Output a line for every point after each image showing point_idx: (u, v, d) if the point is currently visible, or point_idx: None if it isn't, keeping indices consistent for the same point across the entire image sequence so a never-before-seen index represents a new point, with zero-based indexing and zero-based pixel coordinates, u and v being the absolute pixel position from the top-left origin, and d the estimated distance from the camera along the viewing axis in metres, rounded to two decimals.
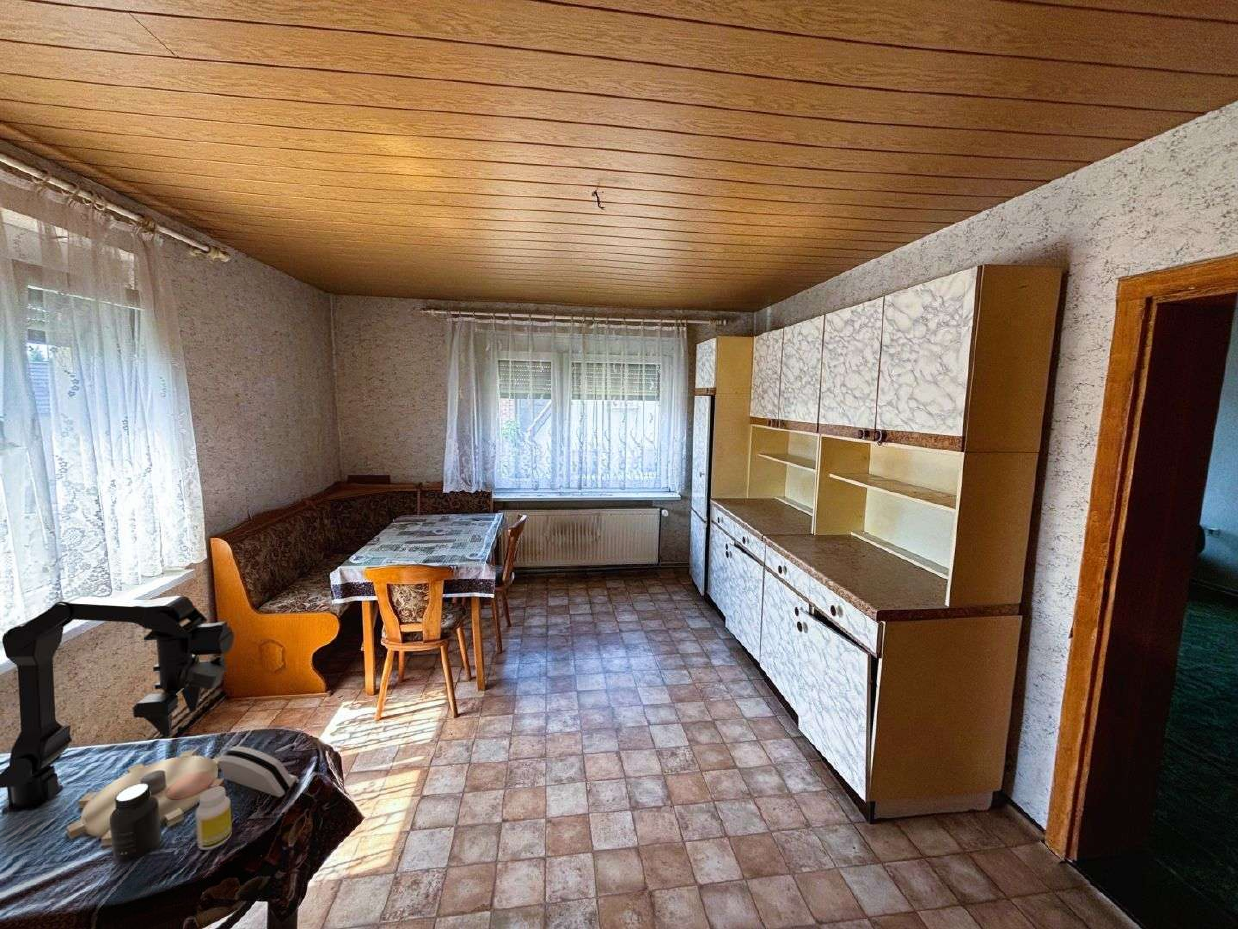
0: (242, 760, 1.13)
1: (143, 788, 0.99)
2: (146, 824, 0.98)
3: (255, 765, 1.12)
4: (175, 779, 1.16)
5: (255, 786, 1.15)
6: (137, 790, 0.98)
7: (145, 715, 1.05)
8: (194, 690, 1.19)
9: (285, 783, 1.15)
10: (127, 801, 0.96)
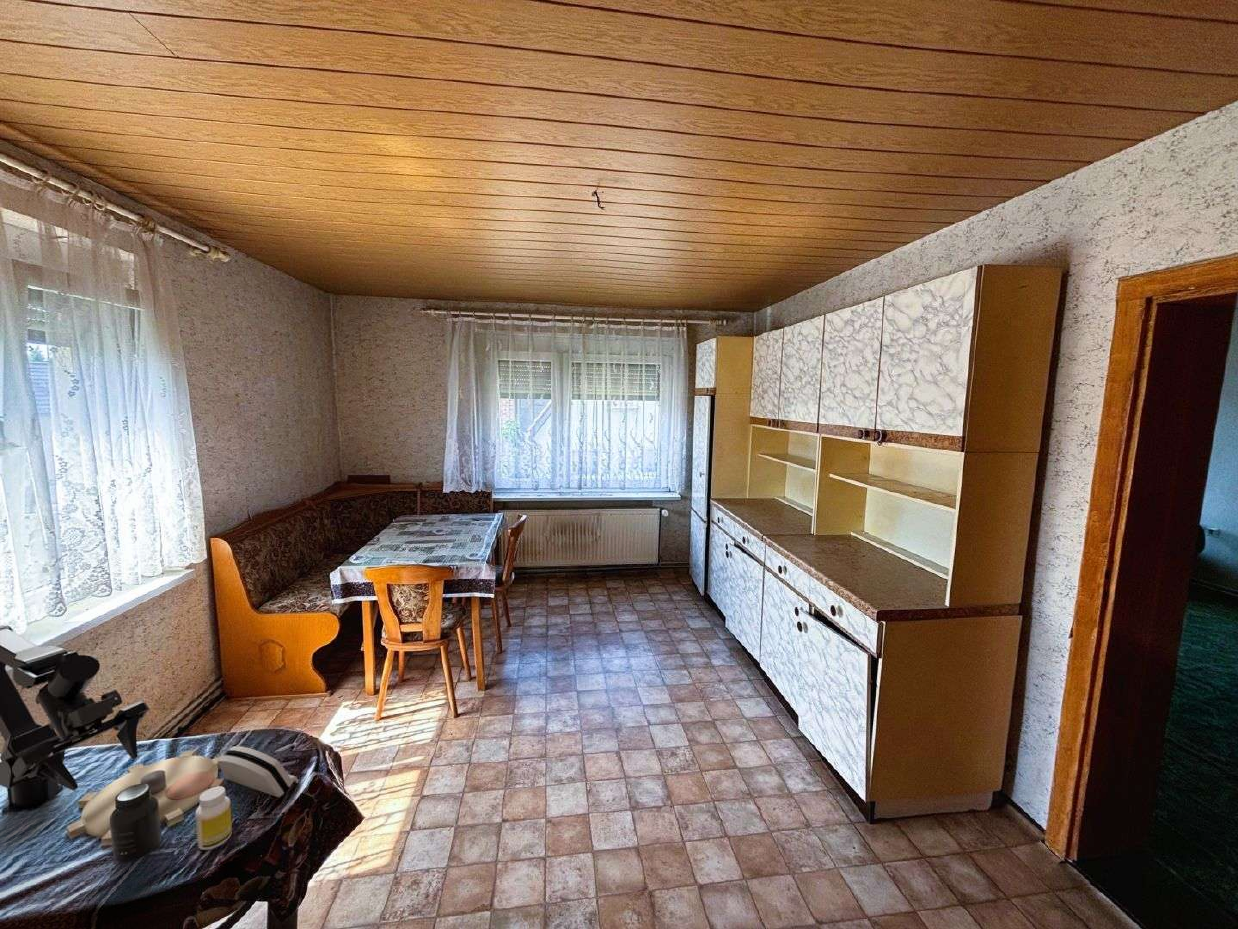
0: (241, 760, 1.13)
1: (143, 788, 0.99)
2: (146, 824, 0.98)
3: (254, 765, 1.12)
4: (175, 779, 1.16)
5: (254, 786, 1.15)
6: (137, 790, 0.98)
7: (19, 772, 0.93)
8: (126, 736, 1.06)
9: (284, 783, 1.15)
10: (127, 801, 0.96)
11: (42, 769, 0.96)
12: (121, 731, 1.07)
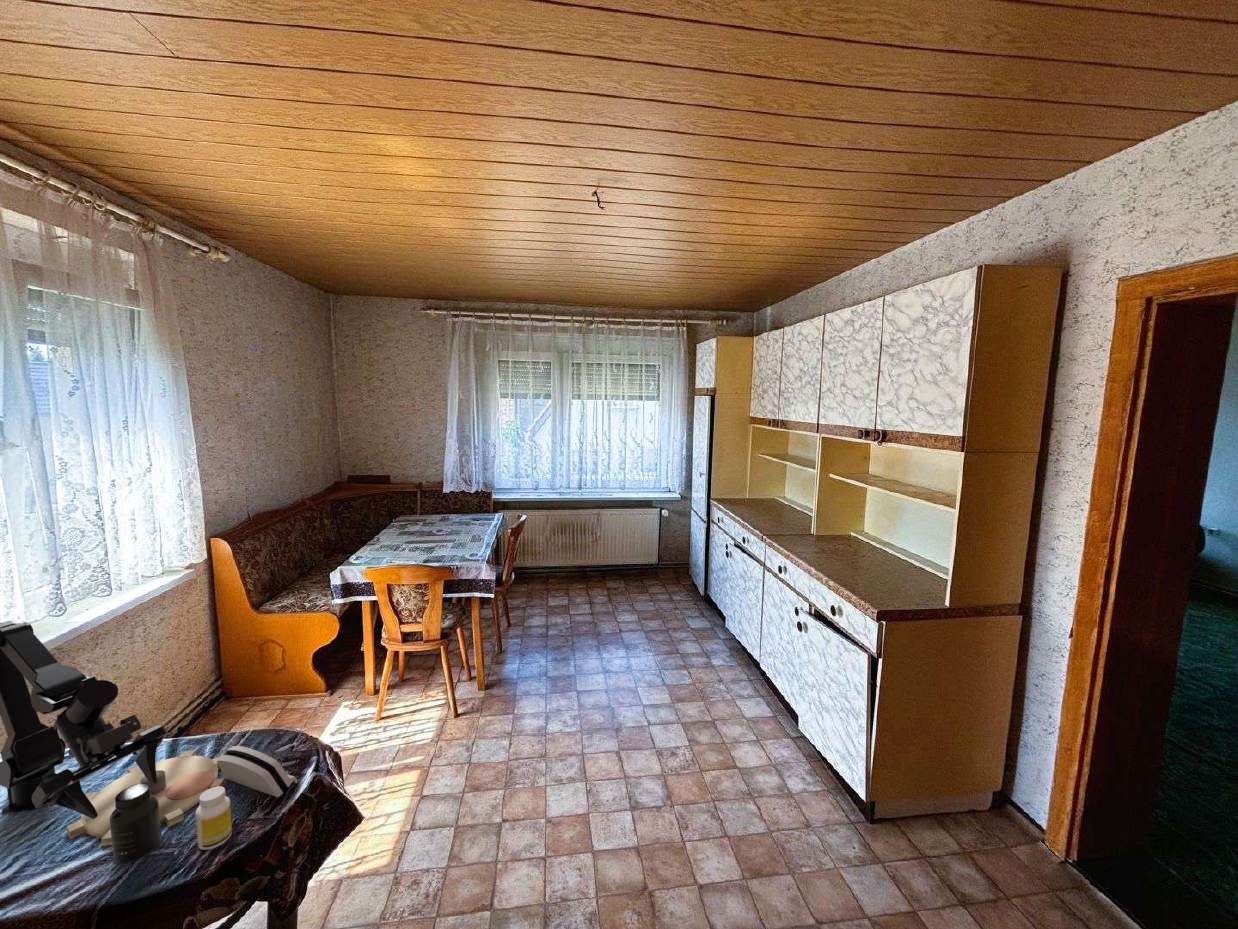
0: (240, 760, 1.13)
1: (143, 788, 0.99)
2: (146, 824, 0.98)
3: (253, 765, 1.12)
4: (175, 779, 1.16)
5: (253, 786, 1.15)
6: (137, 790, 0.98)
7: (39, 802, 0.92)
8: (145, 761, 1.04)
9: (283, 783, 1.15)
10: (127, 801, 0.96)
11: (62, 798, 0.94)
12: (140, 756, 1.05)
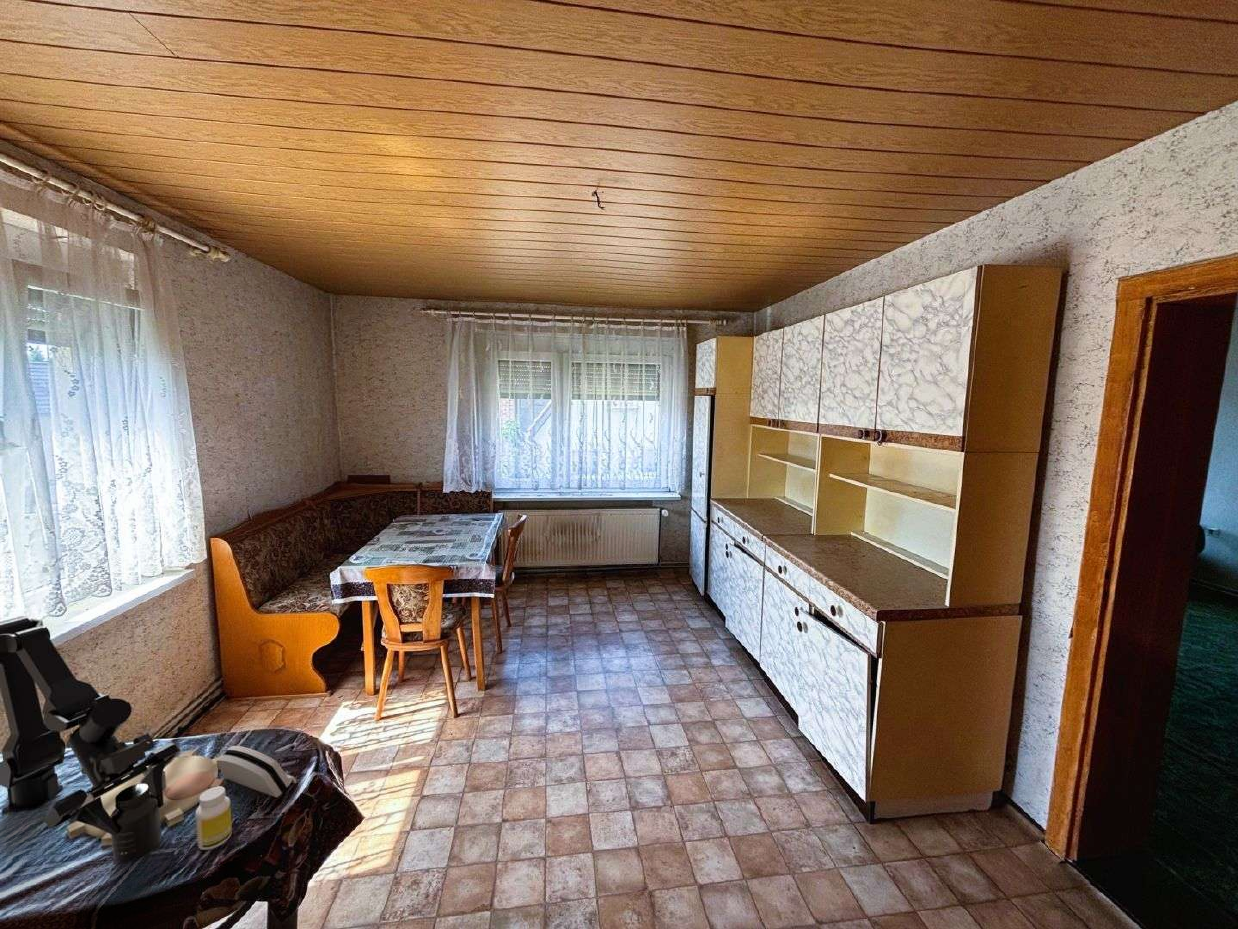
0: (240, 760, 1.13)
1: (143, 788, 0.99)
2: (146, 824, 0.98)
3: (252, 765, 1.12)
4: (175, 779, 1.16)
5: (253, 786, 1.15)
6: (137, 790, 0.98)
7: (52, 823, 0.91)
8: (151, 784, 1.02)
9: (282, 783, 1.15)
10: (127, 801, 0.96)
11: (83, 814, 0.94)
12: (146, 778, 1.03)
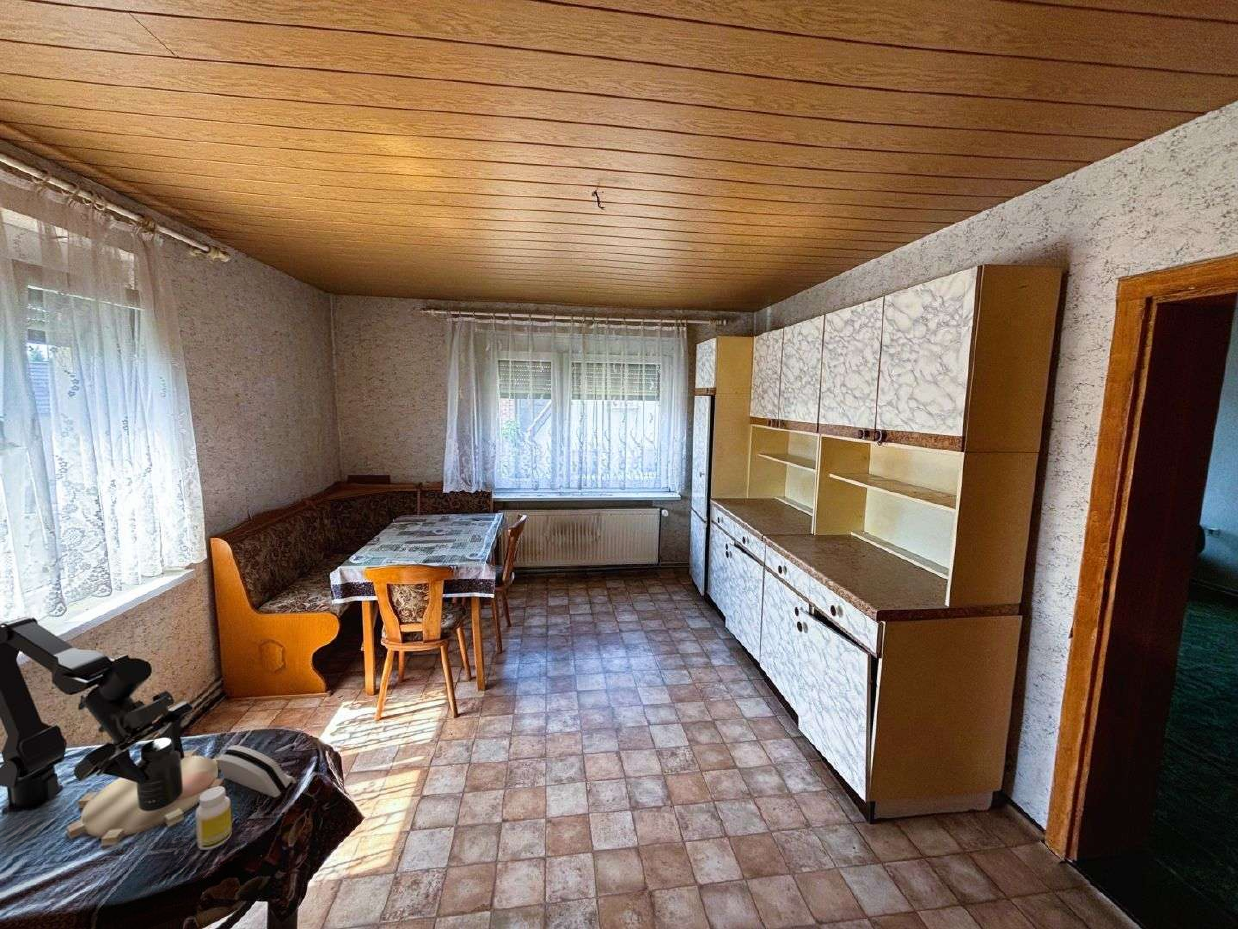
0: (239, 759, 1.13)
1: (167, 741, 1.04)
2: (172, 773, 1.03)
3: (251, 765, 1.12)
4: None
5: (252, 786, 1.15)
6: (161, 743, 1.04)
7: (83, 774, 0.95)
8: None
9: (281, 783, 1.15)
10: (154, 752, 1.01)
11: (110, 766, 0.99)
12: (163, 734, 1.08)
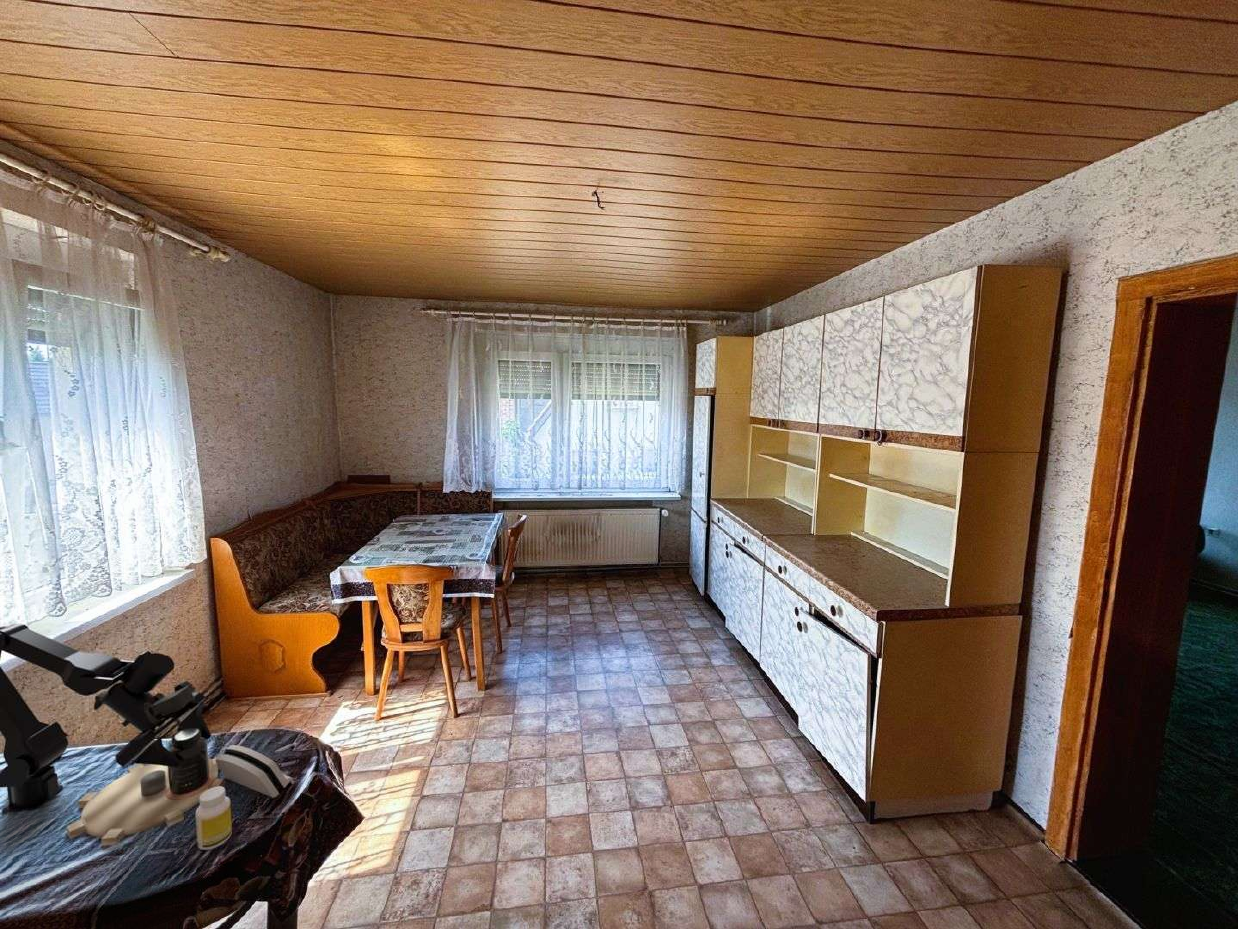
0: (237, 759, 1.13)
1: (194, 730, 1.14)
2: (204, 757, 1.14)
3: (250, 765, 1.12)
4: None
5: (250, 786, 1.15)
6: (189, 732, 1.13)
7: (128, 759, 1.03)
8: (195, 722, 1.17)
9: (279, 784, 1.14)
10: (188, 739, 1.11)
11: (143, 755, 1.06)
12: (186, 719, 1.17)
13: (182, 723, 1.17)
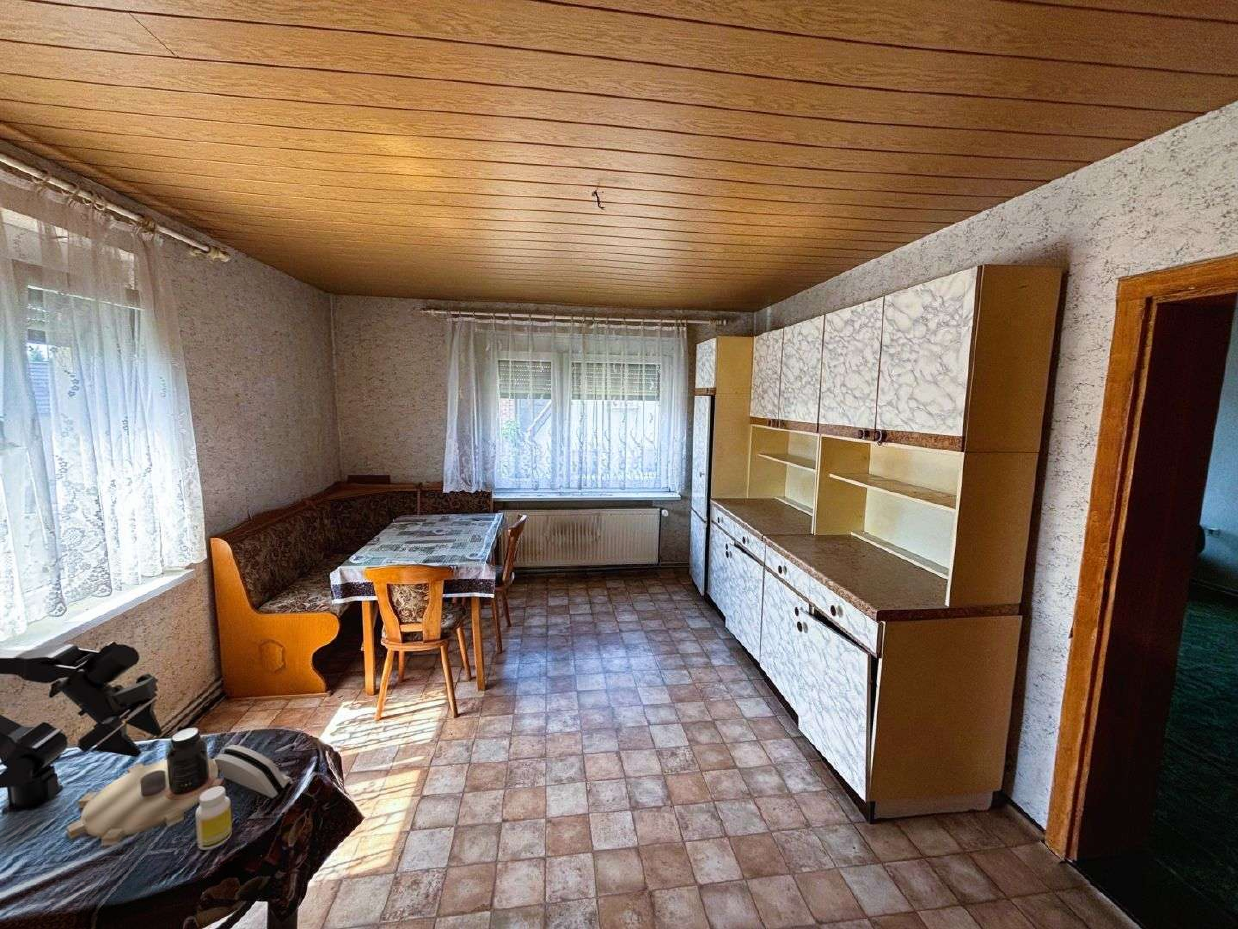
0: (236, 759, 1.13)
1: (193, 730, 1.14)
2: (204, 757, 1.14)
3: (248, 765, 1.12)
4: None
5: (249, 786, 1.15)
6: (189, 732, 1.13)
7: (94, 743, 1.04)
8: (147, 718, 1.18)
9: (278, 784, 1.14)
10: (188, 739, 1.11)
11: (105, 742, 1.06)
12: (137, 715, 1.17)
13: (131, 719, 1.17)
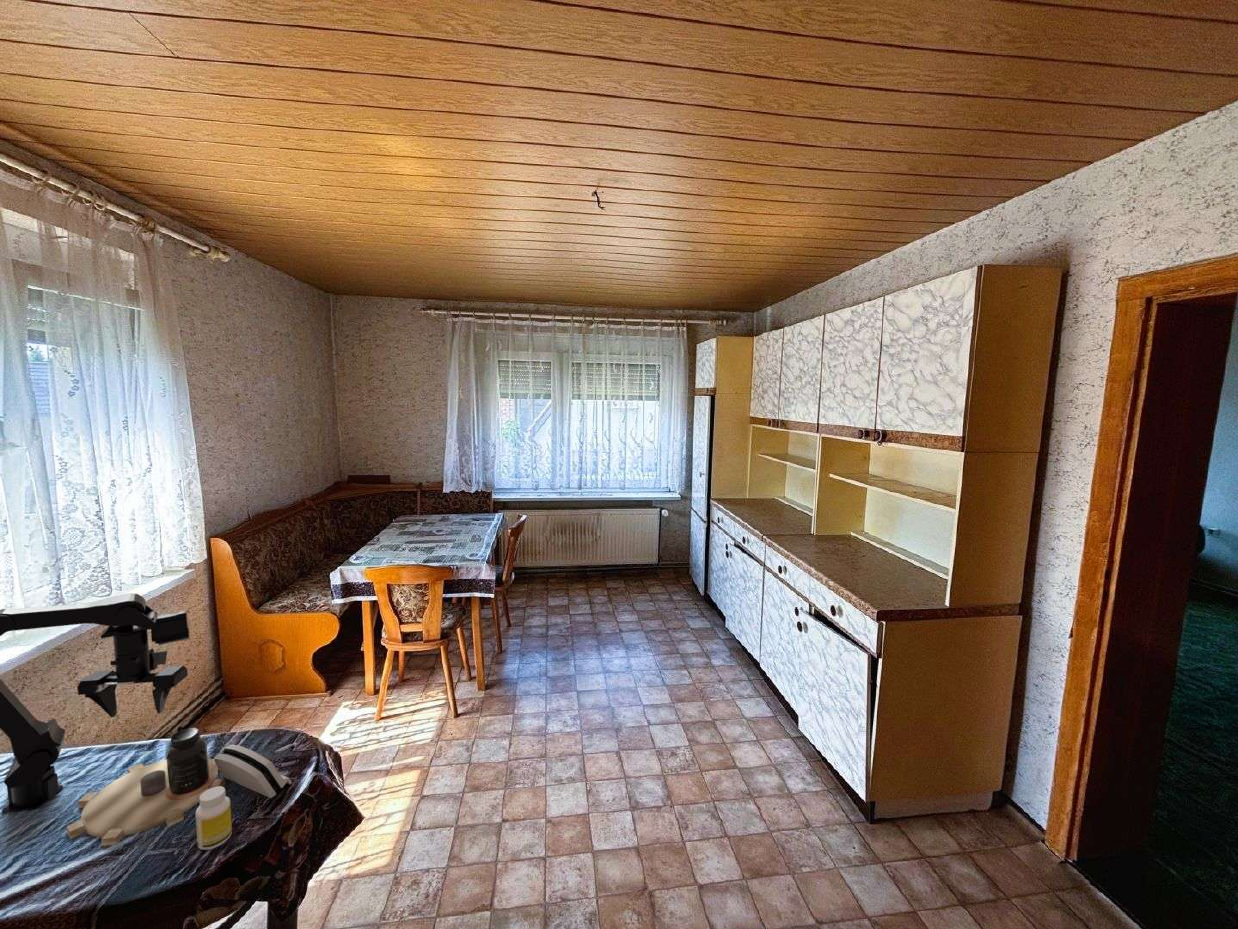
0: (235, 759, 1.13)
1: (193, 730, 1.14)
2: (204, 757, 1.14)
3: (247, 765, 1.12)
4: None
5: (248, 786, 1.15)
6: (189, 732, 1.13)
7: (179, 681, 1.21)
8: (112, 695, 1.19)
9: (277, 784, 1.14)
10: (187, 739, 1.11)
11: None
12: (107, 690, 1.18)
13: (102, 693, 1.17)
